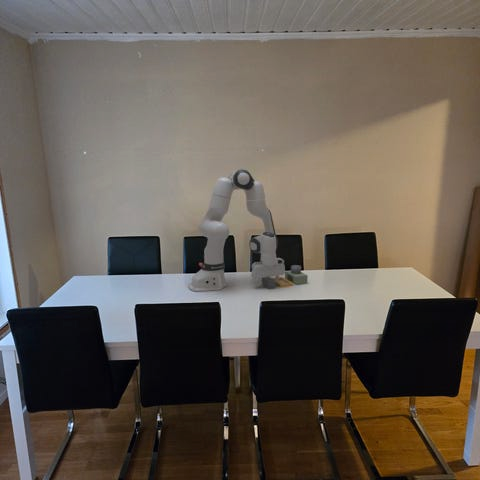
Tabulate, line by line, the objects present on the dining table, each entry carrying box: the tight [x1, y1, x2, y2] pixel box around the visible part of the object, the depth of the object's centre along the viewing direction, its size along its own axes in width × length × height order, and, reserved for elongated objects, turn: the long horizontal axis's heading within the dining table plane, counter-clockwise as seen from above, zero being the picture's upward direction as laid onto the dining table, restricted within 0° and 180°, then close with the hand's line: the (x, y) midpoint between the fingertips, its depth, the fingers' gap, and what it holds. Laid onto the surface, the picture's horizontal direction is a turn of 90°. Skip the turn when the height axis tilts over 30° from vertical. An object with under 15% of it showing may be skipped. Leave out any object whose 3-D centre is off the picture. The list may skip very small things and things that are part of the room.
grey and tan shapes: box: [271, 264, 309, 288], centre depth 230 cm, size 18×14×9 cm
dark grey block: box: [261, 277, 276, 290], centre depth 222 cm, size 4×10×5 cm, turn 22°
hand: (268, 283), depth 223 cm, fingers open, 8 cm apart
